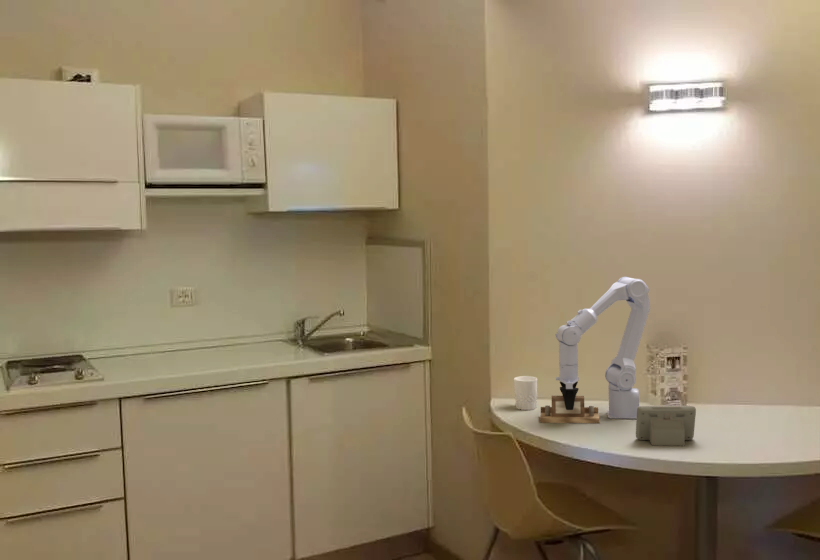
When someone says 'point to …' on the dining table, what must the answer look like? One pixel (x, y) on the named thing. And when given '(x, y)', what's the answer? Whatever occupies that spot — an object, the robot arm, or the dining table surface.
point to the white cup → (525, 392)
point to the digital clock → (665, 424)
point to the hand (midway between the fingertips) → (569, 406)
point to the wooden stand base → (590, 417)
